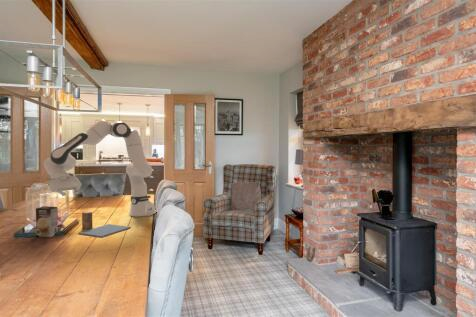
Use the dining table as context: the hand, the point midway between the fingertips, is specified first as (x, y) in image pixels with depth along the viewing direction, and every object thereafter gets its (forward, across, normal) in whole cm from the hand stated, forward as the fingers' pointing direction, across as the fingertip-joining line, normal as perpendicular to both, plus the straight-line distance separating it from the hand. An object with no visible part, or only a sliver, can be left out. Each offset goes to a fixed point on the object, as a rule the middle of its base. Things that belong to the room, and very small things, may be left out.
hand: (71, 194), depth 192 cm
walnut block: (+24, 0, +5) cm, 25 cm away
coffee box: (+19, -20, +11) cm, 29 cm away
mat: (+35, 0, -6) cm, 35 cm away
